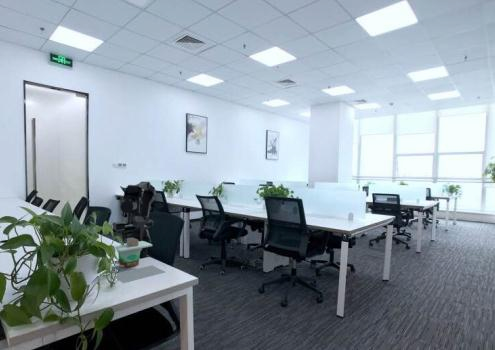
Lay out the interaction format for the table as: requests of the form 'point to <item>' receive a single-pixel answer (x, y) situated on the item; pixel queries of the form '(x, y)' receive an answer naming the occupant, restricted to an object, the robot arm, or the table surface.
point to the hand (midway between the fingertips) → (132, 241)
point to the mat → (138, 273)
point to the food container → (129, 258)
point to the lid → (132, 245)
